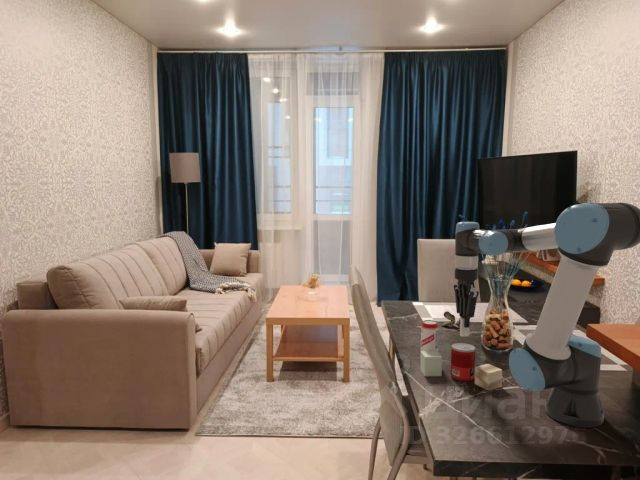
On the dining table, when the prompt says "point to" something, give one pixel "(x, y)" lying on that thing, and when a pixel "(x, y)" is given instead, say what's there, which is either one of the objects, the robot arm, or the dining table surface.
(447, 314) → the snake figurine
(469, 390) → the dining table surface
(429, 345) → the beer can
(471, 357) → the canned food
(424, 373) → the sage block
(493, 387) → the birch block
